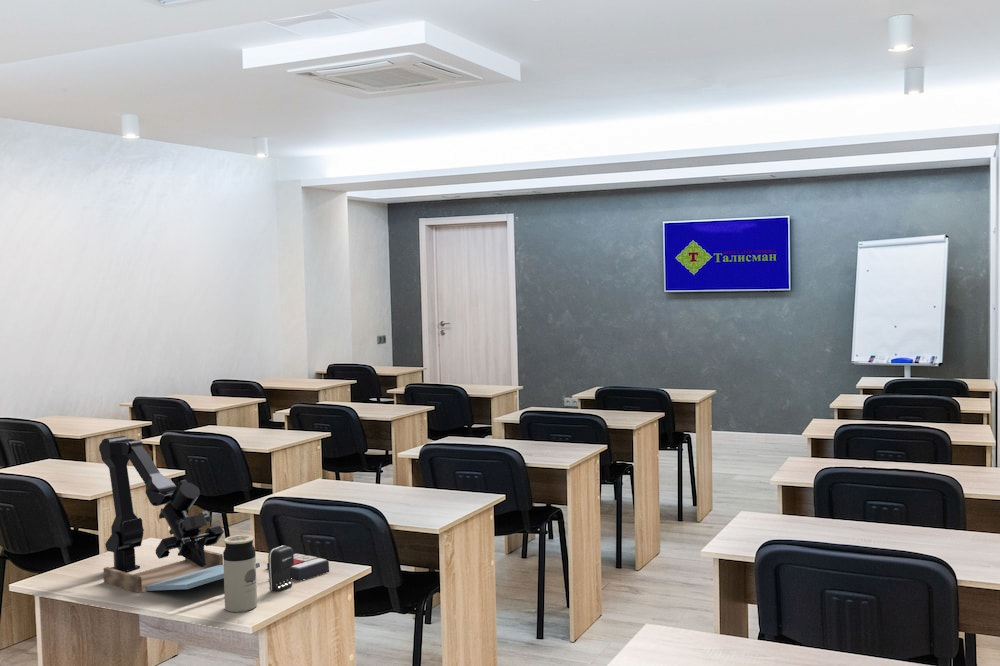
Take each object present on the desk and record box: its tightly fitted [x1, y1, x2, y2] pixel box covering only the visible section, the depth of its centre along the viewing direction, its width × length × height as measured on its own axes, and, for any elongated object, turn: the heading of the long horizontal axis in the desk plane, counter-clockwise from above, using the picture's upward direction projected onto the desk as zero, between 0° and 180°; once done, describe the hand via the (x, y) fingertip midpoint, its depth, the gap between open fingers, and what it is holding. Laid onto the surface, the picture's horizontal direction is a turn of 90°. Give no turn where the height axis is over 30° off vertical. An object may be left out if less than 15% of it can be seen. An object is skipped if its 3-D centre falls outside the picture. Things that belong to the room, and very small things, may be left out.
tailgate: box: [144, 562, 261, 592], centre depth 248 cm, size 1×23×20 cm
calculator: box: [266, 553, 330, 582], centre depth 263 cm, size 11×4×15 cm
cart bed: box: [103, 549, 224, 594], centre depth 259 cm, size 17×27×5 cm, turn 143°
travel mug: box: [222, 534, 258, 613], centre depth 232 cm, size 8×8×18 cm
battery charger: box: [267, 545, 294, 592], centre depth 247 cm, size 7×4×11 cm, turn 151°
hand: (203, 566), depth 248 cm, fingers closed
